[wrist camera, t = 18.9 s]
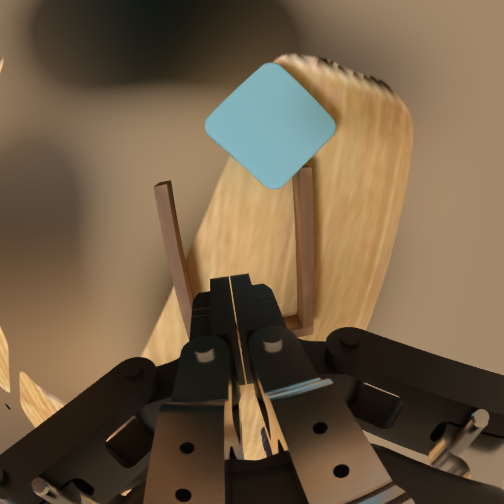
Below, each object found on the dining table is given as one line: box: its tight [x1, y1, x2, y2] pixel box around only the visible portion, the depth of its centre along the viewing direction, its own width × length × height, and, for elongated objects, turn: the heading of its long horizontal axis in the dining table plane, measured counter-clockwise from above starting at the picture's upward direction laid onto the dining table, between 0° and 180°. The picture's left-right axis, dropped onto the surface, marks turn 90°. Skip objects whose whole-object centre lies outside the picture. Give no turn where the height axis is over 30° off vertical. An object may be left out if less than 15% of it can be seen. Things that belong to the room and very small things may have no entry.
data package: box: [205, 63, 336, 189], centre depth 31 cm, size 12×4×12 cm
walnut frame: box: [154, 165, 314, 347], centre depth 38 cm, size 19×26×4 cm
